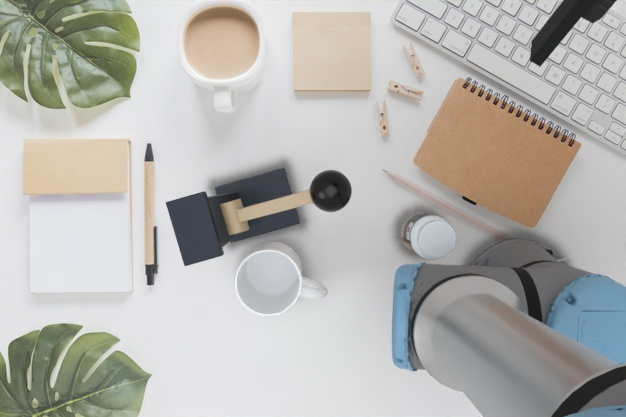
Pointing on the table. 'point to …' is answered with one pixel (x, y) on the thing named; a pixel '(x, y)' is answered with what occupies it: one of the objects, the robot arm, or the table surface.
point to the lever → (292, 201)
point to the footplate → (258, 192)
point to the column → (200, 226)
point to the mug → (273, 280)
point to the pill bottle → (428, 235)
